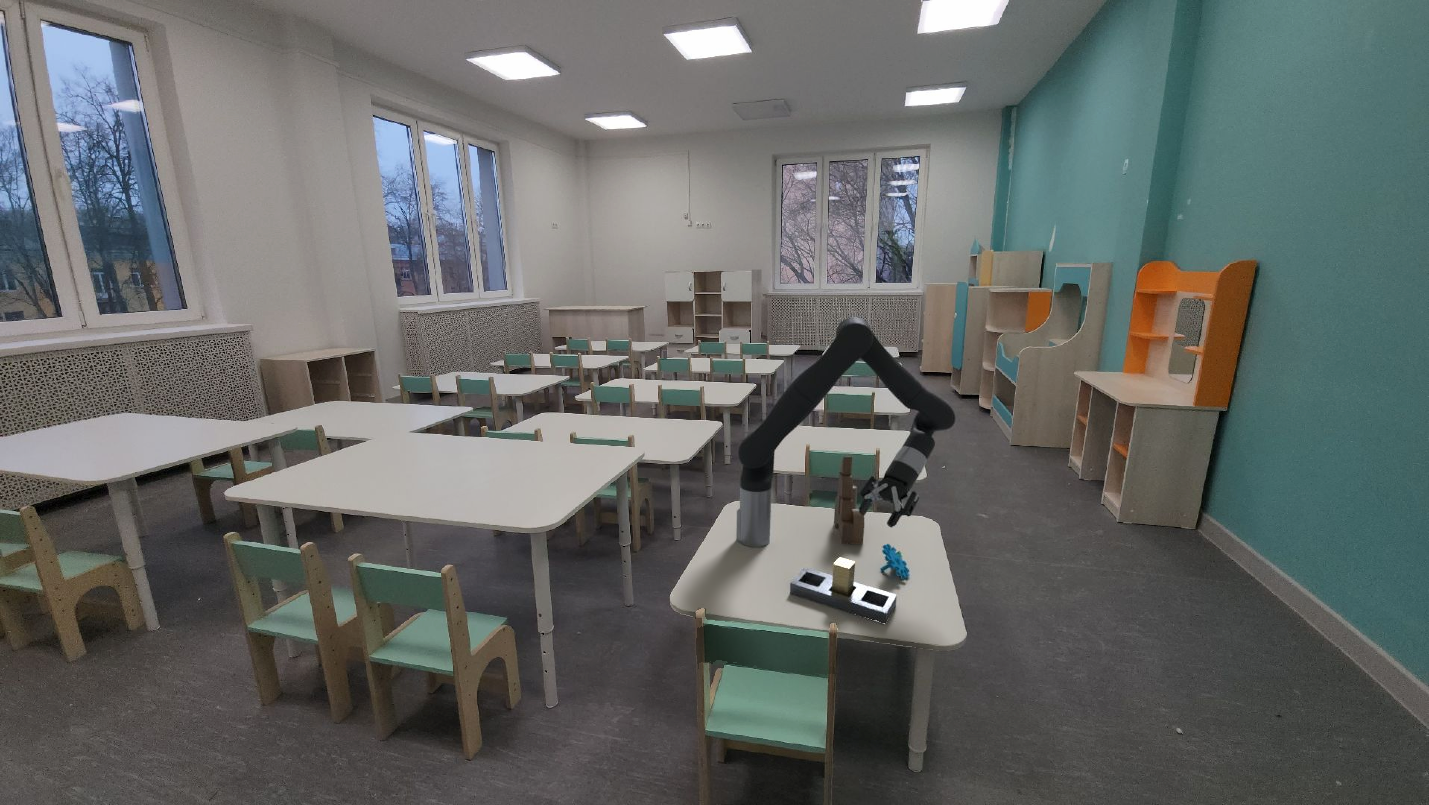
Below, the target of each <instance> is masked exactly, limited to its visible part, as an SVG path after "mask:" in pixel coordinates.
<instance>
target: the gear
mask: <svg viewBox="0 0 1429 805" xmlns="http://www.w3.org/2000/svg"><path fill="white" fill-rule="evenodd" d="M881 547H882V548H883V549H882V553H883V555H884V560H885V561H886V564H885V565H883V566H882V567H880V568H879V570H880V572H885V571H886V570H888V569H889V568H890V570H894V569H895V570H896V571H895V574H896V575H897V576H898V577H900V578H901V579H903V580H905V579H906V578H909V577H910V574H909V573H910V569H909V568H908V567H907V566H908V565H907V564H908V563H907V561H905V560H903V556H902V552H901V550H898V551H897V549H896V547H894V546H891V544H890V543H886V544H884V545H882V546H881Z"/></svg>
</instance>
